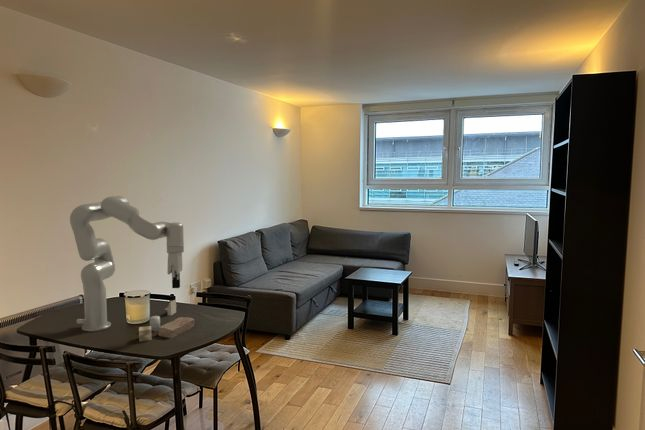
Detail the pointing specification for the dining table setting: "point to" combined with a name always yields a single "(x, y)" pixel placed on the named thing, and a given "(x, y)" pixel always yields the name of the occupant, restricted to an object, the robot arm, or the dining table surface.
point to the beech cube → (145, 333)
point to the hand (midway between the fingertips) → (176, 287)
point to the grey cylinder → (155, 323)
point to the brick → (176, 327)
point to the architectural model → (171, 308)
